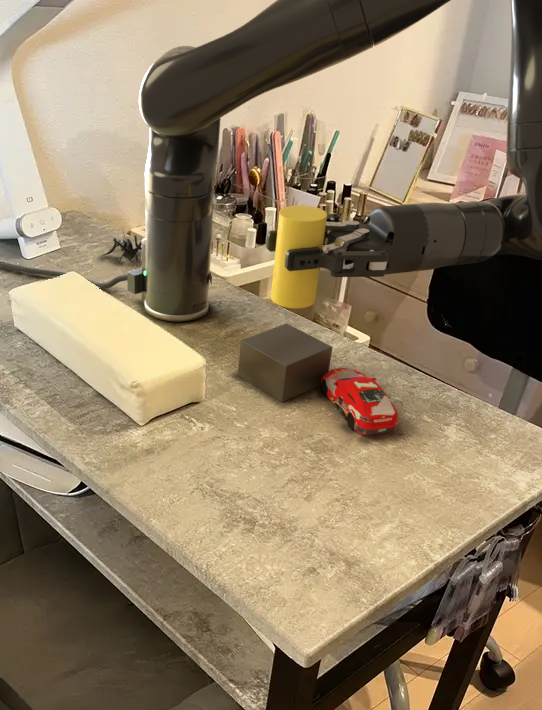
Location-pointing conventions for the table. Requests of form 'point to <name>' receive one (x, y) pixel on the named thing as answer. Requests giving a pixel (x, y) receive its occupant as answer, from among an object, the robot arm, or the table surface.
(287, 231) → the canister
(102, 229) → the table surface
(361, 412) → the race car
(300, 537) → the table surface
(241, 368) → the block
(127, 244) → the creature
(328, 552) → the table surface
